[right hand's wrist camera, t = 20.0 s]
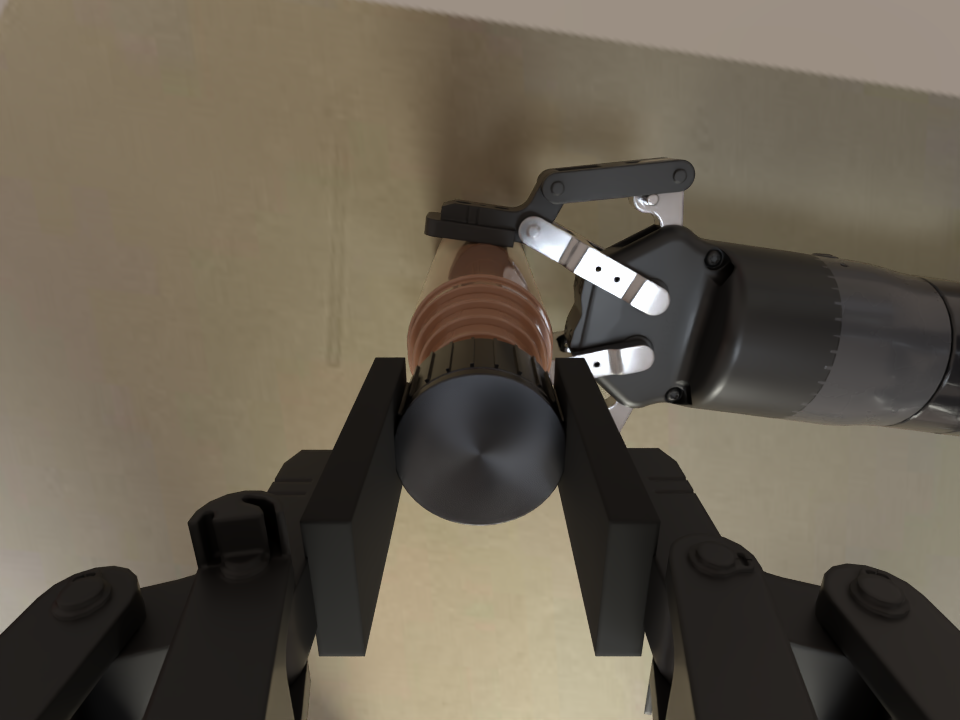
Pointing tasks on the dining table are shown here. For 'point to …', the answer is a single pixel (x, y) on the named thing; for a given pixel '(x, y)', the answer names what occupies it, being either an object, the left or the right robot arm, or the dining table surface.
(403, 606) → the dining table surface
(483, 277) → the bottle
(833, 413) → the left robot arm
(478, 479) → the cap
